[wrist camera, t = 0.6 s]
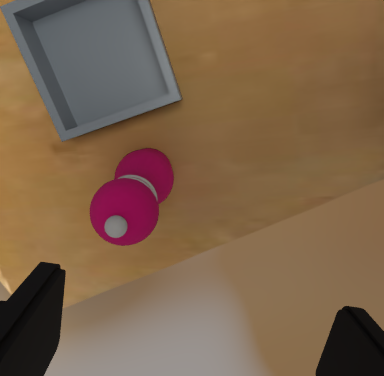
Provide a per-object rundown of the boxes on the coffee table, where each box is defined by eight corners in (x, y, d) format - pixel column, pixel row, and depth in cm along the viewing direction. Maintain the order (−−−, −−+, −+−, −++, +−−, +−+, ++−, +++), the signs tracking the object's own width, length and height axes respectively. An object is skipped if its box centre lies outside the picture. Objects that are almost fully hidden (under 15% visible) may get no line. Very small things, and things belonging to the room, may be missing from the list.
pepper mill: (114, 156, 42) (48, 206, 23) (163, 136, 41) (136, 171, 22) (136, 202, 44) (92, 284, 25) (183, 184, 43) (175, 255, 24)
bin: (140, -29, 36) (131, -48, 31) (182, 98, 40) (181, 99, 35) (24, 18, 37) (-1, 6, 32) (77, 136, 41) (61, 141, 37)
